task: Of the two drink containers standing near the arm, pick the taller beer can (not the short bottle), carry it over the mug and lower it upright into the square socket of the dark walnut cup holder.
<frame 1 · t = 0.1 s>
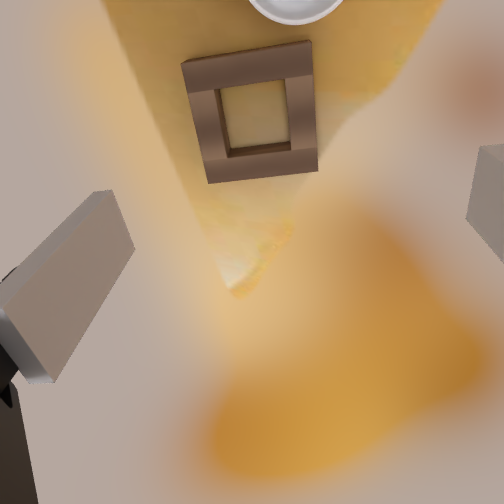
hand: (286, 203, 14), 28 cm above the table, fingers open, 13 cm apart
holder: (255, 113, 39), on the table
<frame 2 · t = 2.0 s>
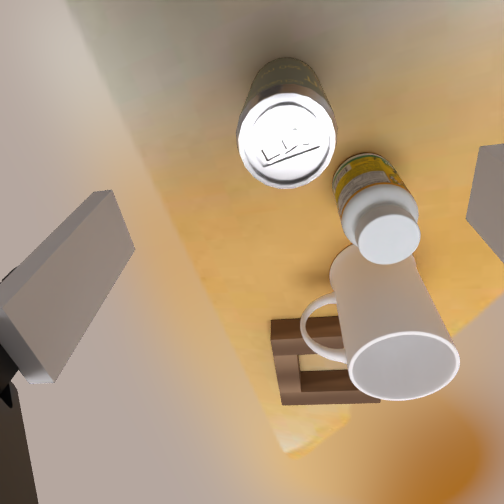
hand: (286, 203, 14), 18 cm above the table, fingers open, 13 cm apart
supplement bottle: (362, 180, 32), on the table
beer can: (285, 94, 29), on the table
holder: (326, 352, 45), on the table
mug: (354, 272, 38), on the table
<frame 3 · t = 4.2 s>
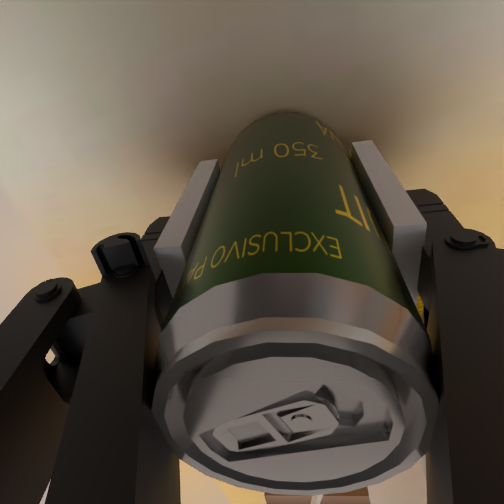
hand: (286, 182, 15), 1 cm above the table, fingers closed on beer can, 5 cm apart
beer can: (286, 169, 16), on the table, touching gripper
holder: (342, 489, 32), on the table
mug: (388, 405, 26), on the table
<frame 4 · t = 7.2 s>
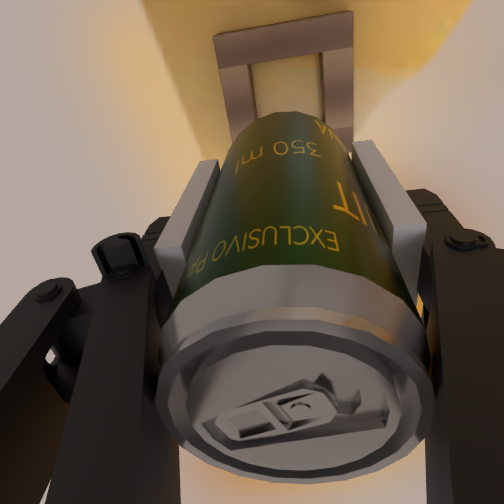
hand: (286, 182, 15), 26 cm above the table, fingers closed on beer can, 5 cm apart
beer can: (285, 167, 17), point 24 cm above the table, touching gripper
holder: (287, 91, 37), on the table
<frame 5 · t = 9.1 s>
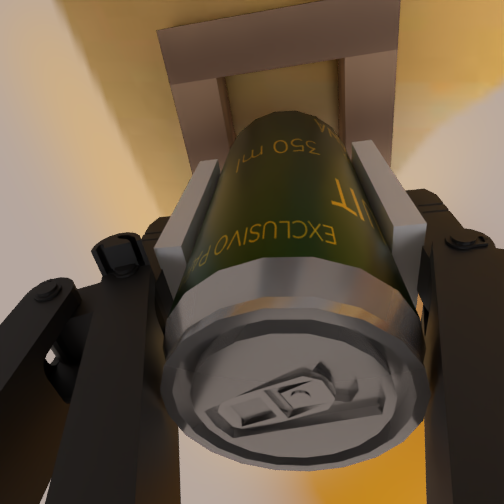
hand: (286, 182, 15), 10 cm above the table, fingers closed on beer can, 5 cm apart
beer can: (286, 166, 17), point 8 cm above the table, touching gripper
holder: (285, 119, 24), on the table
when the fingers open (4 cm above the table, at t = 10.7 s): beer can drops 2 cm, resting in holder.
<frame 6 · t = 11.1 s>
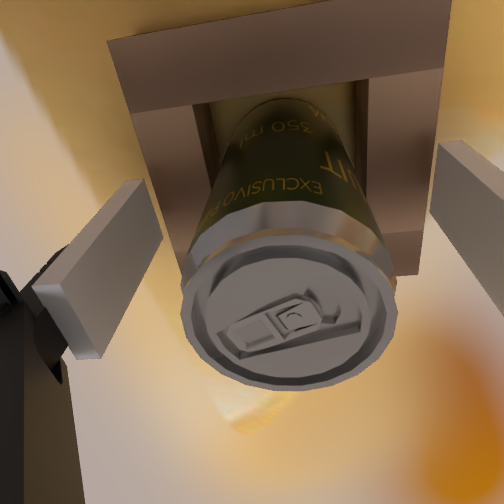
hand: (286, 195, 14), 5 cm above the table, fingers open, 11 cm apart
beer can: (284, 151, 19), resting in holder
holder: (285, 152, 18), on the table
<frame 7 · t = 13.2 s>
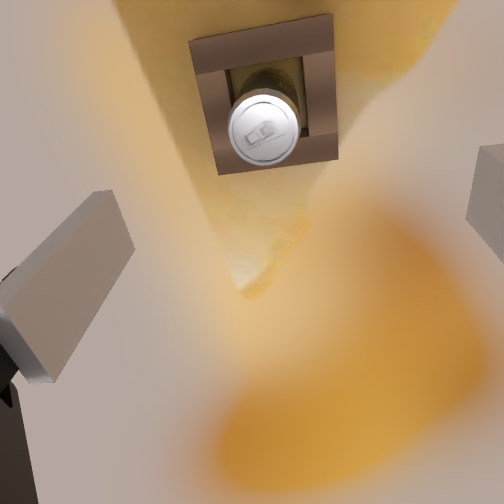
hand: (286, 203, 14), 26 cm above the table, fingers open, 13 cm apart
beer can: (268, 97, 36), resting in holder
holder: (269, 97, 36), on the table
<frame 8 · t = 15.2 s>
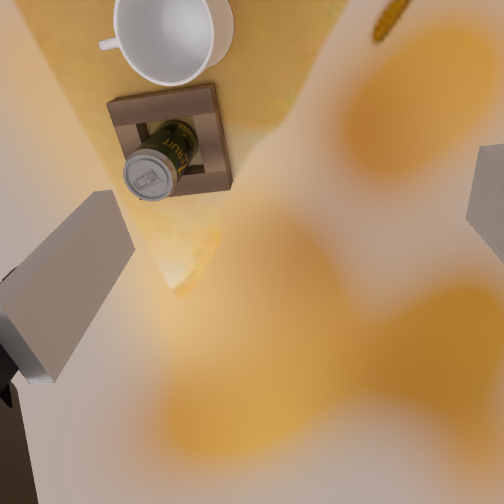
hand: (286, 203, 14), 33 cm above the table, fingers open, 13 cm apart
beer can: (177, 140, 46), resting in holder
holder: (177, 141, 46), on the table
mug: (179, 26, 39), on the table
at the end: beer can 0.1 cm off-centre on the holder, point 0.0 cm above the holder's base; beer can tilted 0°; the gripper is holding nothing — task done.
